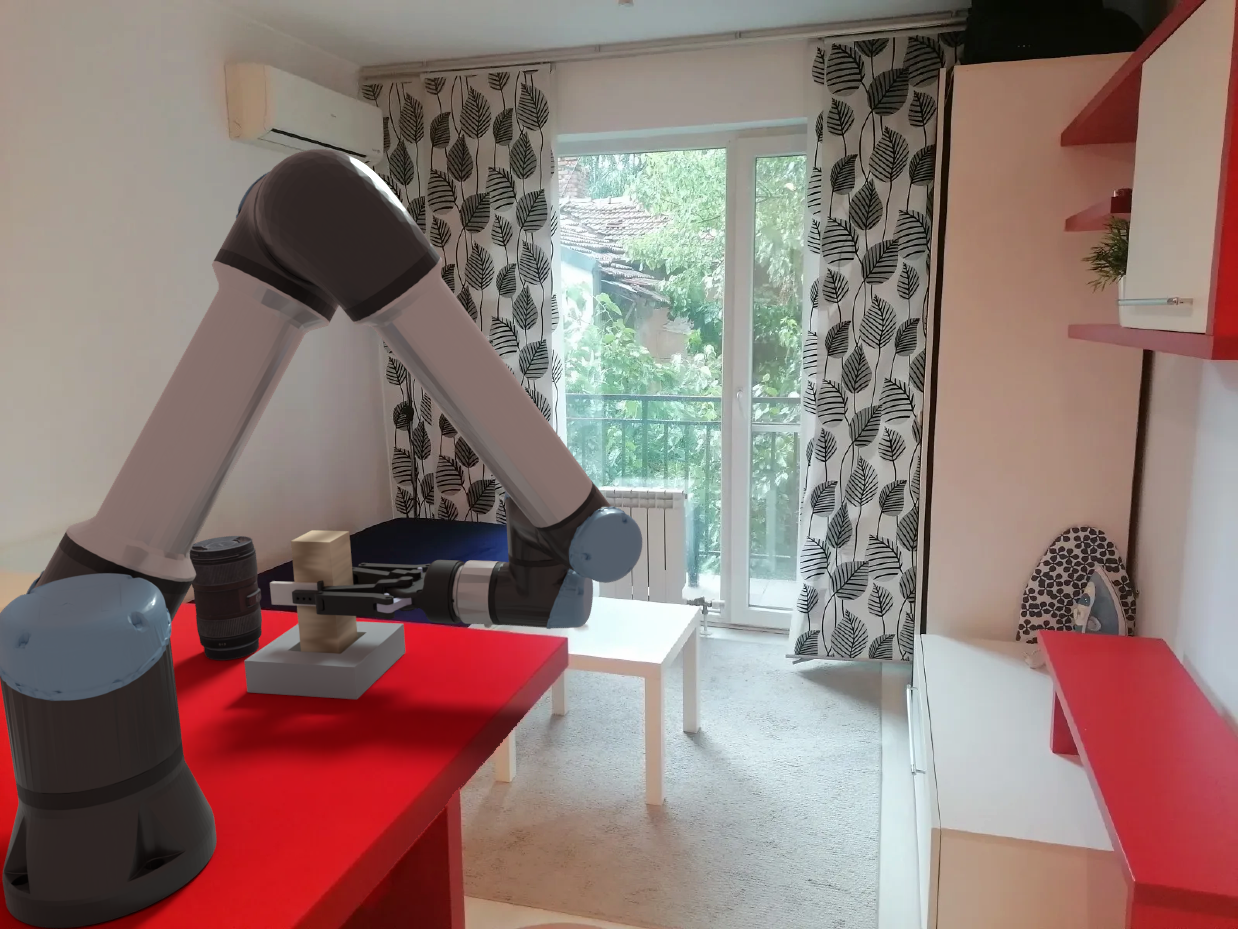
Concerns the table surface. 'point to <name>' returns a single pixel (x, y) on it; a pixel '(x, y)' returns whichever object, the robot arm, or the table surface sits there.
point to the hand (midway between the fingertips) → (285, 585)
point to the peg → (332, 564)
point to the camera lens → (227, 596)
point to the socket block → (325, 664)
